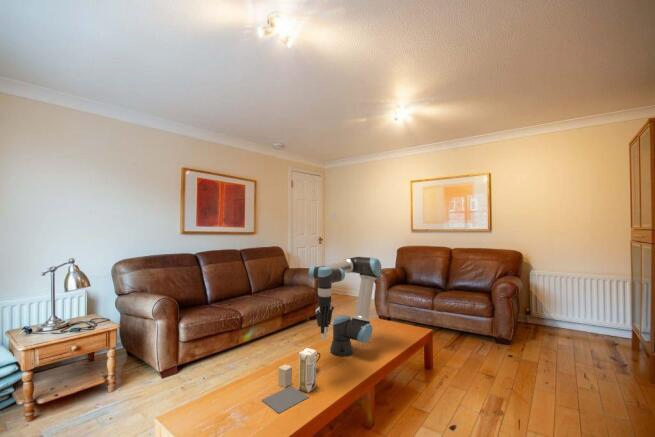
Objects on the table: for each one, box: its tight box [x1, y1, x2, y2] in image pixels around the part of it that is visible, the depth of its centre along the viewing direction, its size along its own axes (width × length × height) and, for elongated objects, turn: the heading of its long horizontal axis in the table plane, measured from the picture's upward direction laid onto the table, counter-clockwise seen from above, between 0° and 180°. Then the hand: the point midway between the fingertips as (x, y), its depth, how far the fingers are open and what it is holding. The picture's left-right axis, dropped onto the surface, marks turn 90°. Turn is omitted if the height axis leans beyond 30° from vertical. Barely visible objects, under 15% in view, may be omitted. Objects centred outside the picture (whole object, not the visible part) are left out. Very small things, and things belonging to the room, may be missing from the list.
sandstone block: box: [277, 364, 293, 389], centre depth 158 cm, size 5×5×9 cm
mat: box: [261, 385, 310, 415], centre depth 145 cm, size 18×14×1 cm
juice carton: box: [298, 347, 317, 393], centre depth 155 cm, size 8×9×19 cm
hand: (324, 338), depth 163 cm, fingers closed
